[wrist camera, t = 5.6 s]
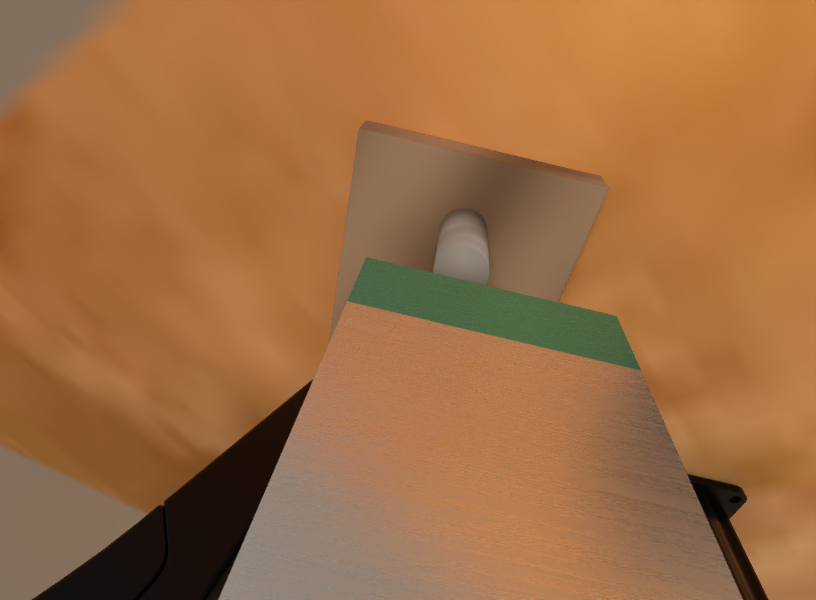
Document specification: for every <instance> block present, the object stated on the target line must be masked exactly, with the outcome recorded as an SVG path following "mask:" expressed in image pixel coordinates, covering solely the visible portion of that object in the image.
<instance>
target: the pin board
mask: <svg viewBox="0 0 816 600" xmlns="http://www.w3.org/2000/svg"><path fill="white" fill-rule="evenodd" d="M608 189H609V187H608V186H607V185H606V183H605V182H604V180H603V179H602V178H601V176H597V175H593V174H589V173H585V172H581V171H576V170H572V169H568V168H564V167H560V166H555V165H551V164H547V163H543V162H539V161H534V160H530V159H526V158H522V157H517V156H513V155H509V154H505V153H501V152H496V151H492V150H488V149H484V148H480V147H475V146H471V145H467V144H463V143H458V142H454V141H450V140H446V139H442V138H437V137H433V136H429V135H425V134H421V133H416V132H412V131H408V130H404V129H400V128H395V127H391V126H387V125H383V124H378V123H374V122H370V121H365V123H364V124H363V125H362V126H361V127H360V128H359V132H358V139H357V146H356V153H355V160H354V167H353V175H352V182H351V189H350V196H349V203H348V211H347V218H346V225H345V232H344V239H343V247H342V254H341V261H340V268H339V275H338V282H337V290H336V297H335V304H334V311H333V318H332V326H331V333H330V340H331V338H332V335H333V333H334V331H335V328H336V326H337V324H338V321H339V319H340V317H341V314H342V312H343V310H344V307H345V305H346V303H347V300H348V298H349V296H350V294H351V291H352V289H353V287H354V284H355V282H356V280H357V277H358V275H359V273H360V270H361V268H362V266H363V263H364V261H365V259H366V257H368V258H372V259H377V260H381V261H385V262H389V263H393V264H398V265H402V266H406V267H410V268H415V269H419V270H423V271H427V272H432V273H436V274H440V275H444V276H449V277H453V278H457V279H461V280H465V281H470V282H474V283H478V284H482V285H487V286H491V287H495V288H499V289H504V290H508V291H512V292H516V293H520V294H525V295H529V296H533V297H537V298H542V299H546V300H550V301H554V302H558V301H559V299H560V297H561V294H562V292H563V290H564V288H565V285H566V283H567V281H568V279H569V276H570V274H571V272H572V270H573V267H574V265H575V263H576V261H577V259H578V256H579V254H580V252H581V250H582V247H583V245H584V243H585V241H586V238H587V236H588V234H589V232H590V229H591V227H592V225H593V223H594V220H595V218H596V216H597V214H598V212H599V209H600V207H601V205H602V203H603V200H604V198H605V196H606V194H607V191H608ZM330 340H329V342H330Z"/></svg>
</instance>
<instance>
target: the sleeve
mask: <svg viewBox="0 0 816 600" xmlns="http://www.w3.org/2000/svg"><path fill="white" fill-rule="evenodd" d="M218 600H743V599H742V596H741V594H740V592H739V590H738V587H737V585H736V583H735V581H734V578H733V576H732V574H731V572H730V569H729V567H728V565H727V563H726V560H725V558H724V556H723V554H722V551H721V549H720V547H719V545H718V542H717V540H716V538H715V536H714V533H713V531H712V529H711V527H710V525H709V522H708V520H707V518H706V516H705V513H704V511H703V509H702V507H701V504H700V502H699V500H698V498H697V495H696V493H695V491H694V489H693V486H692V484H691V482H690V480H689V477H688V475H687V473H686V471H685V468H684V466H683V464H682V462H681V459H680V457H679V455H678V453H677V450H676V448H675V446H674V444H673V442H672V439H671V437H670V435H669V433H668V430H667V428H666V426H665V424H664V421H663V419H662V417H661V415H660V412H659V410H658V408H657V406H656V403H655V401H654V399H653V397H652V394H651V392H650V390H649V388H648V385H647V383H646V381H645V379H644V376H643V374H642V372H641V370H640V367H639V365H638V363H637V361H636V359H635V356H634V354H633V352H632V350H631V347H630V345H629V343H628V341H627V338H626V336H625V334H624V332H623V329H622V327H621V325H620V323H619V320H618V318H617V316H614V315H609V314H605V313H601V312H597V311H592V310H588V309H584V308H580V307H576V306H571V305H567V304H563V303H559V302H554V301H550V300H546V299H542V298H537V297H533V296H529V295H525V294H520V293H516V292H512V291H508V290H504V289H499V288H495V287H491V286H487V285H482V284H478V283H474V282H470V281H465V280H461V279H457V278H453V277H449V276H444V275H440V274H436V273H432V272H427V271H423V270H419V269H415V268H410V267H406V266H402V265H398V264H393V263H389V262H385V261H381V260H377V259H372V258H368V257H366V259H365V261H364V263H363V266H362V268H361V270H360V273H359V275H358V277H357V280H356V282H355V284H354V287H353V289H352V291H351V294H350V296H349V298H348V300H347V303H346V305H345V307H344V310H343V312H342V314H341V317H340V319H339V321H338V324H337V326H336V328H335V331H334V333H333V335H332V338H331V340H330V342H329V345H328V347H327V349H326V351H325V354H324V356H323V358H322V361H321V363H320V365H319V368H318V370H317V372H316V375H315V377H314V379H313V382H312V384H311V386H310V389H309V391H308V393H307V396H306V398H305V400H304V402H303V405H302V407H301V409H300V412H299V414H298V416H297V419H296V421H295V423H294V426H293V428H292V430H291V433H290V435H289V437H288V440H287V442H286V444H285V446H284V449H283V451H282V453H281V456H280V458H279V460H278V463H277V465H276V467H275V470H274V472H273V474H272V477H271V479H270V481H269V484H268V486H267V488H266V490H265V493H264V495H263V497H262V500H261V502H260V504H259V507H258V509H257V511H256V514H255V516H254V518H253V521H252V523H251V525H250V528H249V530H248V532H247V535H246V537H245V539H244V541H243V544H242V546H241V548H240V551H239V553H238V555H237V558H236V560H235V562H234V565H233V567H232V569H231V572H230V574H229V576H228V579H227V581H226V583H225V585H224V588H223V590H222V592H221V595H220V597H219V599H218Z"/></svg>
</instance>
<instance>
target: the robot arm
mask: <svg viewBox="0 0 816 600" xmlns="http://www.w3.org/2000/svg"><path fill="white" fill-rule="evenodd" d="M312 382H313V380H311V381H310V382H309V383H308V384H306V385H305V386H304V387H303V388H302V389H300V390H299V391H298V392H297V393H295V394H294V395H293V396H292V397H291V398H289V399H288V400H287V401H286V402H284V403H283V404H282V405H281V406H280V407H278V408H277V409H276V410H275V411H273V412H272V413H271V414H270V415H269V416H267V417H266V418H265V419H264V420H263V421H261V422H260V423H259V424H258V425H256V426H255V427H254V428H253V429H252V430H250V431H249V432H248V433H247V434H245V435H244V436H243V437H242V438H241V439H239V440H238V441H237V442H236V443H234V444H233V445H232V446H231V447H230V448H228V449H227V450H226V451H225V452H224V453H222V454H221V455H220V456H219V457H217V458H216V459H215V460H214V461H213V462H211V463H210V464H209V465H208V466H206V467H205V468H204V469H203V470H202V471H200V472H199V473H198V474H197V475H195V476H194V477H193V478H192V479H191V480H189V481H188V482H187V483H186V484H185V485H183V486H182V487H181V488H180V489H178V490H177V491H176V492H175V493H174V494H172V495H171V496H170V497H169V498H167V499H166V500H165V501H164V503H163V506H164V507H163V506H162V505H159V506H157V507H156V508H155V509H154V510H152V511H151V512H150V513H149V514H148V515H146V516H145V517H144V518H143V519H142V520H140V521H139V522H138V523H137V524H135V525H134V526H133V527H132V528H130V529H129V530H128V531H126V532H125V533H124V534H123V535H121V536H120V537H119V538H118V539H116V540H115V541H114V542H112V543H111V544H110V545H109V546H107V547H106V548H105V549H103V550H102V551H101V552H99V553H98V554H96V555H95V556H94V557H92V558H91V559H89V560H88V561H87V562H85V563H84V564H82V565H81V566H80V567H78V568H77V569H75V570H74V571H72V572H71V573H70V574H68V575H67V576H65V577H64V578H63V579H61V580H60V581H58V582H57V583H55V584H54V585H52V586H51V587H50V588H48V589H47V590H46V591H44V592H42V593H41V594H39V595H38V596H36V597H35V598H33V599H32V600H218V599H219V597H220V595H221V592H222V590H223V588H224V585H225V583H226V581H227V579H228V576H229V574H230V572H231V569H232V567H233V565H234V562H235V560H236V558H237V555H238V553H239V551H240V548H241V546H242V544H243V541H244V539H245V537H246V535H247V532H248V530H249V528H250V525H251V523H252V521H253V518H254V516H255V514H256V511H257V509H258V507H259V504H260V502H261V500H262V497H263V495H264V493H265V490H266V488H267V486H268V484H269V481H270V479H271V477H272V474H273V472H274V470H275V467H276V465H277V463H278V460H279V458H280V456H281V453H282V451H283V449H284V446H285V444H286V442H287V440H288V437H289V435H290V433H291V430H292V428H293V426H294V423H295V421H296V419H297V416H298V414H299V412H300V409H301V407H302V405H303V402H304V400H305V398H306V396H307V393H308V391H309V389H310V386H311V384H312ZM687 475H688V474H687ZM688 477H689V480H690V482H691V484H692V486H693V489H694V491H695V493H696V495H697V498H698V500H699V502H700V504H701V507H702V509H703V511H704V513H705V516H706V518H707V520H708V522H709V525H710V527H711V529H712V531H713V533H714V536H715V538H716V540H717V542H718V545H719V547H720V549H721V551H722V554H723V556H724V558H725V560H726V563H727V565H728V567H729V569H730V572H731V574H732V576H733V578H734V581H735V583H736V585H737V587H738V590H739V592H740V594H741V596H742V599H743V600H768V598H767V596H766V594H765V592H764V590H763V588H762V585H761V583H760V581H759V579H758V577H757V575H756V573H755V571H754V569H753V567H752V565H751V563H750V561H749V559H748V557H747V555H746V553H745V551H744V549H743V547H742V545H741V542H740V540H739V538H738V536H737V534H736V532H735V530H734V528H733V526H732V524H731V522H730V520H729V519H730V518H731V517H732V516H733V515H734V514H735V513H736V512H737V510H738V509H739V508H740V507H741V506H742V505H743V504H744V503H745V502H746V501H747V497H746V495H745V493H744V491H743V489H742V488H741V487H738V486H735V485H731V484H726V483H722V482H718V481H714V480H709V479H705V478H701V477H696V476H692V475H688Z"/></svg>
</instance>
